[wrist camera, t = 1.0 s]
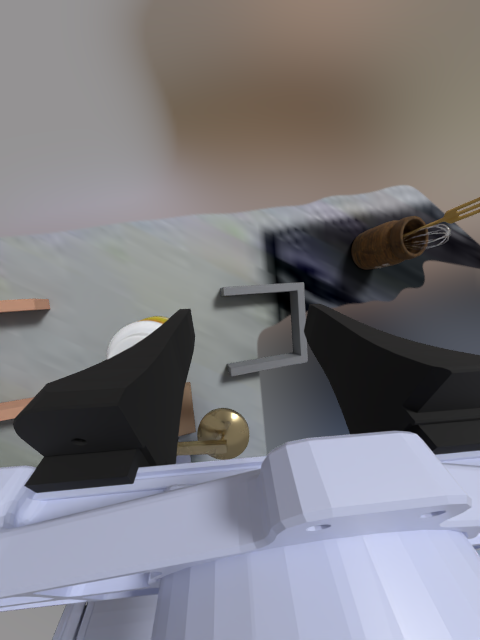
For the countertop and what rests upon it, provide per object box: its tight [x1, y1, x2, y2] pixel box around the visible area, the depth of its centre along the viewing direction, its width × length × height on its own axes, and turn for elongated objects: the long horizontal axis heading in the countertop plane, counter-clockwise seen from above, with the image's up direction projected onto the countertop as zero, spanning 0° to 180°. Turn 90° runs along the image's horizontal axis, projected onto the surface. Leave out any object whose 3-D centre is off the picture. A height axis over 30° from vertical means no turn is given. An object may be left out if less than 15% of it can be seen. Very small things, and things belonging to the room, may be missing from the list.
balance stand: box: [179, 382, 196, 436], centre depth 21 cm, size 6×8×6 cm
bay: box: [221, 282, 308, 376], centre depth 25 cm, size 11×11×2 cm
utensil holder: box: [351, 197, 480, 270], centre depth 25 cm, size 6×6×12 cm
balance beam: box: [177, 408, 249, 460], centre depth 18 cm, size 5×18×2 cm, turn 95°
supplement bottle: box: [107, 316, 169, 359], centre depth 18 cm, size 6×6×10 cm
